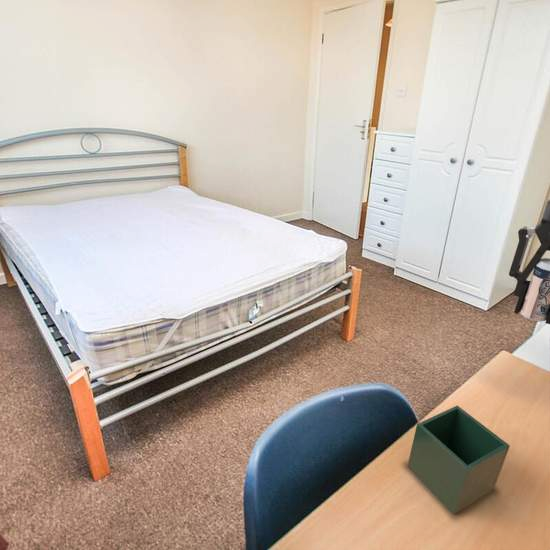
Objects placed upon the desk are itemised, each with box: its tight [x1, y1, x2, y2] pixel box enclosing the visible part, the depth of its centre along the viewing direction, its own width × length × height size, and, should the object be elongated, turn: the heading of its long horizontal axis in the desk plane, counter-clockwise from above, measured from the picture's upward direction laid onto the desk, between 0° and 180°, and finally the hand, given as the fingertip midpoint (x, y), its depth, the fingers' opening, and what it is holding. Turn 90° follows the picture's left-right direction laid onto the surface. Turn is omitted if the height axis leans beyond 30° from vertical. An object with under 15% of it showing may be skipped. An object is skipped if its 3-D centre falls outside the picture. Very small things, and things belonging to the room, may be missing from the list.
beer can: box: [519, 257, 550, 323], centre depth 74 cm, size 5×5×12 cm
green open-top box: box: [407, 405, 511, 515], centre depth 64 cm, size 10×10×11 cm
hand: (533, 315), depth 77 cm, fingers closed on beer can, 5 cm apart
